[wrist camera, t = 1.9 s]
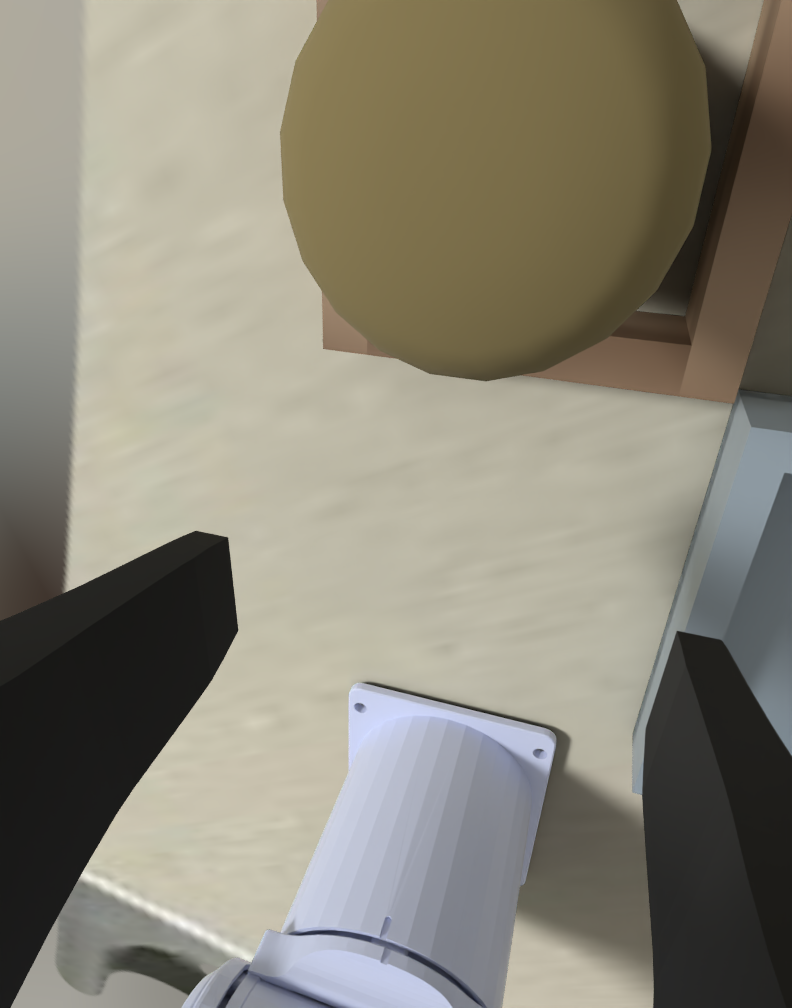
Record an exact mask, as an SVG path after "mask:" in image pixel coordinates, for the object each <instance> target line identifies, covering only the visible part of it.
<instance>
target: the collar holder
mask: <svg viewBox="0 0 792 1008" xmlns="http://www.w3.org/2000/svg"><path fill="white" fill-rule="evenodd" d="M327 2H328V0H317V21H318V19H319V17H320V15H321V13H322V11H323V9H324V7H325V6H326V4H327ZM791 216H792V0H764V2H763V6H762V11H761V15H760V19H759V23H758V27H757V31H756V35H755V39H754V43H753V47H752V51H751V55H750V59H749V63H748V67H747V71H746V75H745V79H744V83H743V87H742V91H741V95H740V99H739V103H738V107H737V111H736V115H735V119H734V123H733V127H732V131H731V135H730V139H729V143H728V147H727V151H726V155H725V159H724V163H723V167H722V171H721V175H720V179H719V183H718V187H717V191H716V195H715V199H714V203H713V207H712V211H711V215H710V219H709V223H708V227H707V231H706V235H705V239H704V243H703V247H702V251H701V255H700V259H699V263H698V267H697V271H696V275H695V279H694V283H693V287H692V291H691V295H690V299H689V303H688V307H687V311H686V315H685V316H677V315H668V314H658V313H649V312H640V311H635V312H634V313H633V314H632V315H631V316H630V317H629V318H628V319H627V320H626V321H625V322H624V323H623V324H622V325H621V326H620V327H618V328H617V329H616V330H615V331H614V332H613V333H612V334H611V335H610V336H609V337H608V338H607V339H605V340H603V341H601V342H600V343H598V344H596V345H594V346H592V347H590V348H588V349H586V350H584V351H582V352H580V353H578V354H576V355H574V356H572V357H570V358H568V359H566V360H564V361H563V362H561V363H559V364H557V365H555V366H553V367H551V368H549V369H547V370H545V371H542V372H536V373H530V374H524V375H523V376H531V377H538V378H546V379H553V380H561V381H568V382H576V383H583V384H591V385H598V386H606V387H613V388H621V389H628V390H636V391H643V392H651V393H658V394H666V395H673V396H681V397H688V398H696V399H703V400H711V401H718V402H726V403H733V404H734V402H735V399H736V396H737V392H738V389H739V386H740V383H741V379H742V376H743V373H744V369H745V366H746V363H747V360H748V356H749V353H750V350H751V347H752V343H753V340H754V337H755V333H756V330H757V327H758V324H759V320H760V317H761V314H762V311H763V307H764V304H765V301H766V297H767V294H768V291H769V288H770V284H771V281H772V278H773V275H774V271H775V268H776V265H777V261H778V258H779V255H780V252H781V248H782V245H783V242H784V239H785V235H786V232H787V229H788V225H789V222H790V219H791ZM322 309H323V349H328V350H336V351H343V352H351V353H358V354H366V355H373V356H381V357H388V358H395V357H392V356H390V355H388V354H386V353H384V352H382V351H379V350H378V349H377V348H376V347H375V346H374V345H372V344H371V343H370V342H369V341H368V340H367V339H366V338H364V337H363V336H362V335H361V334H360V333H359V332H358V331H356V330H355V329H354V328H353V327H352V326H351V325H350V324H349V323H347V322H346V321H345V320H344V319H343V318H342V317H341V316H339V315H338V314H337V313H336V312H335V310H334V309H333V307H332V306H331V304H330V303H329V301H328V299H327V298H326V296H325V295H324V293H323V292H322ZM396 359H397V358H396Z"/></svg>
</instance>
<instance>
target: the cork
mask: <svg viewBox="0 0 792 1008" xmlns="http://www.w3.org/2000/svg"><path fill="white" fill-rule="evenodd" d="M280 139H281V159H282V180H283V200H284V203H285V207H286V210H287V213H288V216H289V219H290V222H291V225H292V229H293V232H294V235H295V238H296V241H297V244H298V247H299V250H300V254H301V257H302V260H303V262H304V264H305V265H306V267H307V268H308V270H309V272H310V273H311V275H312V276H313V278H314V279H315V281H316V282H317V284H318V286H319V287H320V289H321V290H322V292H323V293H324V295H325V296H326V298H327V299H328V301H329V303H330V304H331V306H332V307H333V309H334V310H335V312H336V313H337V314H338V315H339V316H341V317H342V318H343V319H344V320H345V321H346V322H347V323H349V324H350V325H351V326H352V327H353V328H354V329H355V330H356V331H358V332H359V333H360V334H361V335H362V336H363V337H364V338H366V339H367V340H368V341H369V342H370V343H371V344H372V345H374V346H375V347H376V348H377V349H378V350H379V351H382V352H384V353H386V354H388V355H390V356H392V357H395V358H397V359H399V360H401V361H403V362H405V363H408V364H410V365H412V366H414V367H416V368H418V369H421V370H423V371H425V372H427V373H429V374H435V375H443V376H450V377H458V378H465V379H473V380H481V381H490V380H496V379H501V378H507V377H513V376H519V375H524V374H530V373H536V372H542V371H545V370H547V369H549V368H551V367H553V366H555V365H557V364H559V363H561V362H563V361H564V360H566V359H568V358H570V357H572V356H574V355H576V354H578V353H580V352H582V351H584V350H586V349H588V348H590V347H592V346H594V345H596V344H598V343H600V342H601V341H603V340H605V339H607V338H608V337H609V336H610V335H611V334H612V333H613V332H614V331H615V330H616V329H617V328H618V327H620V326H621V325H622V324H623V323H624V322H625V321H626V320H627V319H628V318H629V317H630V316H631V315H632V314H633V313H634V312H635V311H636V310H637V309H638V308H639V307H640V306H641V305H642V304H643V303H644V302H646V301H647V300H648V299H649V298H650V297H651V296H652V295H653V294H654V293H655V292H656V291H657V289H658V288H659V286H660V284H661V282H662V281H663V279H664V277H665V275H666V274H667V272H668V270H669V268H670V267H671V265H672V263H673V261H674V260H675V258H676V256H677V254H678V253H679V251H680V249H681V247H682V246H683V244H684V242H685V240H686V239H687V237H688V235H689V233H690V232H691V230H692V228H693V226H694V222H695V218H696V213H697V209H698V205H699V201H700V196H701V192H702V188H703V183H704V179H705V175H706V171H707V166H708V162H709V158H710V154H711V135H710V121H709V108H708V94H707V81H706V67H705V65H704V62H703V60H702V58H701V55H700V53H699V51H698V48H697V46H696V44H695V41H694V39H693V37H692V34H691V32H690V30H689V27H688V25H687V23H686V20H685V18H684V16H683V13H682V11H681V9H680V6H679V4H678V2H677V0H328V2H327V4H326V6H325V7H324V9H323V11H322V13H321V15H320V17H319V19H318V21H317V22H316V24H315V26H314V28H313V30H312V32H311V34H310V35H309V37H308V39H307V41H306V43H305V45H304V47H303V48H302V50H301V52H300V54H299V56H298V58H297V60H296V62H295V66H294V71H293V75H292V80H291V85H290V89H289V94H288V98H287V103H286V108H285V112H284V117H283V121H282V126H281V131H280Z"/></svg>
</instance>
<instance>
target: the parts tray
mask: <svg viewBox="0 0 792 1008" xmlns="http://www.w3.org/2000/svg"><path fill="white" fill-rule="evenodd" d="M676 631H681V632H686V633H691V634H696V635H701V636H705V637H710V638H715V639H720V640H722V641H723V642H724V644H725V645H726V647H727V648H728V650H729V652H730V653H731V655H732V657H733V659H734V661H735V662H736V664H737V666H738V668H739V669H740V671H741V673H742V675H743V677H744V678H745V680H746V682H747V684H748V685H749V687H750V689H751V690H752V692H753V694H754V696H755V697H756V699H757V701H758V702H759V704H760V706H761V707H762V709H763V711H764V712H765V714H766V716H767V717H768V719H769V721H770V722H771V724H772V726H773V727H774V729H775V731H776V732H777V734H778V735H779V737H780V738H781V740H782V742H783V743H784V745H785V746H786V748H787V749H788V751H789V752H790V754H791V755H792V396H787V395H779V394H771V393H763V392H756V391H748V390H740V389H738V392H737V396H736V399H735V402H734V404H733V407H732V410H731V414H730V417H729V420H728V423H727V427H726V430H725V433H724V436H723V440H722V443H721V446H720V450H719V453H718V456H717V459H716V463H715V466H714V469H713V473H712V476H711V479H710V482H709V486H708V489H707V492H706V495H705V499H704V502H703V505H702V509H701V512H700V515H699V518H698V522H697V525H696V528H695V532H694V535H693V538H692V541H691V545H690V548H689V551H688V554H687V558H686V561H685V564H684V568H683V571H682V574H681V577H680V581H679V584H678V587H677V591H676V594H675V597H674V600H673V604H672V607H671V610H670V613H669V617H668V620H667V623H666V627H665V630H664V633H663V636H662V640H661V643H660V646H659V650H658V653H657V656H656V659H655V663H654V666H653V669H652V672H651V676H650V679H649V682H648V686H647V689H646V692H645V695H644V699H643V702H642V705H641V709H640V712H639V715H638V718H637V722H636V725H635V728H634V731H633V770H632V792H633V793H637V794H641V795H642V785H643V763H644V746H645V729H646V725H647V722H648V719H649V716H650V713H651V710H652V707H653V703H654V700H655V697H656V694H657V691H658V688H659V685H660V682H661V678H662V675H663V672H664V669H665V666H666V663H667V660H668V656H669V653H670V650H671V647H672V644H673V641H674V638H675V635H676Z"/></svg>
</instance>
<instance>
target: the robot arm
mask: <svg viewBox="0 0 792 1008" xmlns="http://www.w3.org/2000/svg"><path fill="white" fill-rule="evenodd" d="M237 632H238V624H237V615H236V605H235V596H234V587H233V578H232V569H231V560H230V551H229V542H228V537H223V536H218V535H214V534H209V533H204V532H199V531H194V532H192V533H189V534H187V535H185V536H182V537H180V538H178V539H176V540H173V541H171V542H169V543H167V544H165V545H163V546H161V547H159V548H157V549H155V550H153V551H151V552H149V553H146V554H144V555H142V556H140V557H138V558H136V559H134V560H132V561H130V562H128V563H126V564H124V565H122V566H120V567H118V568H116V569H114V570H112V571H110V572H108V573H106V574H104V575H102V576H100V577H98V578H95V579H93V580H91V581H89V582H87V583H85V584H83V585H81V586H79V587H77V588H75V589H72V590H70V591H68V592H66V593H63V594H61V595H59V596H57V597H54V598H53V599H50V600H48V601H46V602H43V603H41V604H39V605H37V606H34V607H32V608H30V609H27V610H25V611H23V612H21V613H18V614H16V615H14V616H11V617H9V618H7V619H4V620H2V621H0V1008H11V1005H12V1003H13V1001H14V999H15V998H16V996H17V993H18V992H19V990H20V988H21V986H22V984H23V982H24V980H25V978H26V976H27V974H28V972H29V970H30V968H31V967H32V964H33V963H34V961H35V959H36V957H37V955H38V953H39V951H40V949H41V947H42V945H43V943H44V941H45V939H46V937H47V935H48V933H49V932H50V930H51V928H52V926H53V924H54V923H55V921H56V919H57V917H58V915H59V913H60V912H61V910H62V908H63V906H64V904H65V903H66V901H67V899H68V897H69V895H70V894H71V892H72V890H73V888H74V886H75V884H76V883H77V881H78V879H79V877H80V875H81V874H82V872H83V870H84V868H85V867H86V865H87V863H88V862H89V860H90V858H91V856H92V855H93V853H94V851H95V850H96V848H97V846H98V844H99V843H100V841H101V839H102V838H103V836H104V834H105V833H106V831H107V829H108V827H109V826H110V824H111V822H112V821H113V819H114V817H115V816H116V814H117V812H118V811H119V809H120V808H121V806H122V805H123V803H124V802H125V800H126V799H127V798H128V796H129V795H130V793H131V792H132V790H133V789H134V787H135V786H136V784H137V783H138V782H139V780H140V779H141V778H142V776H143V775H144V773H145V772H146V771H147V769H148V768H149V767H150V765H151V764H152V763H153V761H154V760H155V758H156V757H157V756H158V754H159V753H160V752H161V750H162V749H163V747H164V746H165V745H166V743H167V742H168V741H169V739H170V738H171V736H172V735H173V734H174V732H175V731H176V730H177V728H178V727H179V725H180V724H181V723H182V721H183V720H184V719H185V717H186V716H187V714H188V713H189V712H190V710H191V709H192V707H193V706H194V705H195V703H196V702H197V700H198V699H199V698H200V696H201V695H202V693H203V692H204V691H205V689H206V688H207V686H208V685H209V683H210V682H211V681H212V679H213V677H214V675H215V673H216V672H217V670H218V668H219V666H220V664H221V663H222V661H223V659H224V657H225V655H226V653H227V651H228V649H229V647H230V645H231V644H232V642H233V640H234V638H235V636H236V634H237ZM360 703H361V704H363V705H361V704H360ZM364 705H365V706H364ZM556 741H557V740H556V736H555V734H554V733H553V732H552V731H550V730H548V729H546V728H543V727H539V726H534V725H530V724H526V723H522V722H518V721H514V720H510V719H506V718H502V717H498V716H494V715H490V714H486V713H482V712H478V711H474V710H470V709H466V708H462V707H458V706H454V705H450V704H446V703H442V702H437V701H433V700H429V699H425V698H421V697H417V696H413V695H409V694H405V693H401V692H397V691H393V690H389V689H385V688H381V687H377V686H373V685H369V684H365V683H356V684H354V685H353V686H352V688H351V690H350V692H349V772H348V775H347V777H346V779H345V782H344V784H343V786H342V789H341V791H340V793H339V796H338V798H337V801H336V803H335V805H334V808H333V810H332V812H331V815H330V817H329V819H328V822H327V824H326V826H325V829H324V831H323V833H322V836H321V838H320V840H319V843H318V845H317V847H316V850H315V852H314V855H313V857H312V859H311V862H310V864H309V866H308V869H307V871H306V873H305V876H304V878H303V880H302V883H301V885H300V887H299V890H298V892H297V894H296V897H295V899H294V901H293V904H292V906H291V909H290V911H289V913H288V916H287V918H286V920H285V923H284V925H283V927H282V930H281V932H280V933H279V932H276V931H273V930H270V929H269V930H266V931H265V934H264V936H263V938H262V940H261V942H260V945H259V947H258V949H257V951H256V954H255V956H254V958H253V960H252V963H251V962H248V961H245V960H243V959H240V958H236V957H235V958H232V959H230V960H228V961H226V962H225V963H224V964H223V965H222V966H220V968H218V969H217V970H215V971H213V972H212V973H210V974H208V975H207V976H206V977H204V978H203V979H202V980H201V981H200V982H199V984H198V985H197V986H196V987H195V988H194V990H193V991H192V992H191V994H190V995H189V997H188V998H187V1000H186V1001H185V1003H184V1004H183V1006H182V1008H502V1005H503V998H504V991H505V984H506V978H507V971H508V964H509V957H510V950H511V944H512V937H513V930H514V923H515V916H516V910H517V903H518V896H519V889H520V886H522V885H524V883H525V881H526V877H527V873H528V868H529V864H530V859H531V855H532V850H533V846H534V842H535V837H536V833H537V828H538V824H539V819H540V815H541V811H542V806H543V802H544V797H545V793H546V788H547V784H548V780H549V775H550V771H551V766H552V762H553V757H554V753H555V749H556ZM538 749H542V750H544V751H540V750H538ZM642 799H643V816H644V831H645V846H646V860H647V875H648V889H649V903H650V917H651V931H652V946H653V974H654V1003H653V1008H792V755H791V754H790V752H789V751H788V749H787V748H786V746H785V745H784V743H783V742H782V740H781V738H780V737H779V735H778V734H777V732H776V731H775V729H774V727H773V726H772V724H771V722H770V721H769V719H768V717H767V716H766V714H765V712H764V711H763V709H762V707H761V706H760V704H759V702H758V701H757V699H756V697H755V696H754V694H753V692H752V690H751V689H750V687H749V685H748V684H747V682H746V680H745V678H744V677H743V675H742V673H741V671H740V669H739V668H738V666H737V664H736V662H735V661H734V659H733V657H732V655H731V653H730V652H729V650H728V648H727V647H726V645H725V644H724V642H723V641H722V640H720V639H715V638H710V637H705V636H701V635H696V634H691V633H686V632H681V631H676V635H675V638H674V641H673V644H672V647H671V650H670V653H669V656H668V660H667V663H666V666H665V669H664V672H663V675H662V678H661V682H660V685H659V688H658V691H657V694H656V697H655V700H654V703H653V707H652V710H651V713H650V716H649V719H648V722H647V725H646V729H645V746H644V763H643V785H642Z"/></svg>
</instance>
